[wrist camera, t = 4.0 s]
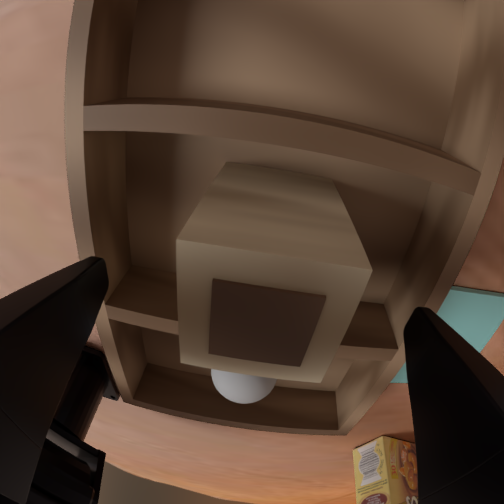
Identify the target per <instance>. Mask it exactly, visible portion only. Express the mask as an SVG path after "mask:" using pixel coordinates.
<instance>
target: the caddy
mask: <svg viewBox="0 0 504 504" xmlns="http://www.w3.org/2000/svg"><path fill="white" fill-rule="evenodd" d="M64 124H65V151H66V166H67V178H68V188H69V197H70V205H71V212H72V219H73V226H74V232H75V238H76V243H77V249H78V254H79V259H80V261H81V260H83V259H85V258H88V257H90V256H96V257H101V258H103V259H104V260H105V262H106V267H107V273H108V278H109V288H108V291H107V293H106V296H105V298H104V301H103V303H102V306H101V308H100V311H99V313H98V316H97V319H96V321H95V323H96V326H97V330H98V333H99V336H100V339H101V342H102V345H103V349H104V352H105V354H106V357H107V360H108V363H109V366H110V369H111V371H112V374H113V377H114V379H115V382H116V385H117V387H118V390H119V392H120V395H121V397H122V399H123V402H125V403H129V404H132V405H135V406H139V407H142V408H146V409H150V410H153V411H157V412H161V413H165V414H169V415H173V416H178V417H182V418H187V419H192V420H196V421H201V422H207V423H212V424H218V425H224V426H230V427H237V428H244V429H251V430H260V431H269V432H279V433H292V434H308V435H347V434H348V433H349V431H350V430H351V429H352V428H353V427H354V426H355V425H356V424H357V423H358V421H359V420H360V419H361V418H362V417H363V416H364V415H365V413H366V412H367V411H368V410H369V409H370V407H371V406H372V405H373V404H374V403H375V401H376V400H377V399H378V398H379V396H380V395H381V394H382V393H383V391H384V390H385V389H386V388H387V386H388V385H389V384H390V382H391V381H392V380H393V378H394V377H395V376H396V374H397V373H398V372H399V370H400V369H401V367H402V366H403V365H404V363H405V362H406V359H405V347H404V337H403V331H404V327H405V325H406V323H407V321H408V320H409V318H410V316H411V314H412V312H413V311H414V309H415V308H416V307H419V306H420V307H428V308H430V309H431V310H432V311H433V312H435V313H436V314H437V312H438V310H439V309H440V307H441V305H442V303H443V302H444V300H445V298H446V296H447V294H448V293H449V291H450V289H451V287H452V285H453V283H454V281H455V279H456V278H457V276H458V274H459V272H460V270H461V268H462V266H463V263H464V261H465V259H466V257H467V255H468V253H469V251H470V248H471V246H472V244H473V242H474V239H475V237H476V235H477V232H478V230H479V228H480V225H481V223H482V220H483V218H484V215H485V213H486V210H487V207H488V205H489V202H490V199H491V196H492V193H493V190H494V187H495V184H496V181H497V178H498V175H499V172H500V168H501V165H502V162H503V158H504V0H75V1H74V6H73V12H72V18H71V25H70V32H69V40H68V49H67V60H66V75H65V101H64ZM226 162H231V163H239V164H246V165H253V166H260V167H266V168H273V169H279V170H285V171H291V172H296V173H302V174H307V175H313V176H318V177H323V178H328V179H332V181H333V183H334V185H335V187H336V189H337V191H338V193H339V195H340V197H341V199H342V201H343V203H344V205H345V207H346V210H347V212H348V214H349V216H350V218H351V221H352V223H353V225H354V227H355V229H356V232H357V234H358V236H359V239H360V241H361V243H362V245H363V248H364V250H365V253H366V255H367V257H368V260H369V262H370V265H371V267H372V270H373V271H372V273H371V276H370V278H369V281H368V283H367V285H366V288H365V290H364V293H363V295H362V297H361V300H360V302H359V304H358V307H357V309H356V311H355V313H354V316H353V318H352V320H351V322H350V324H349V327H348V329H347V331H346V333H345V335H344V337H343V339H342V341H341V343H340V345H339V348H338V350H337V352H336V354H335V356H334V358H333V360H332V362H331V364H330V365H329V367H328V369H327V371H326V373H325V375H324V377H323V379H322V381H321V383H314V382H303V381H292V380H283V379H277V381H276V384H275V386H274V388H273V389H272V391H271V392H270V393H269V394H268V395H267V396H266V397H264V398H263V399H261V400H259V401H257V402H253V403H247V404H242V403H236V402H233V401H230V400H228V399H227V398H225V397H224V396H223V395H221V394H220V393H219V391H218V390H217V389H216V387H215V385H214V383H213V380H212V376H211V369H209V368H204V367H199V366H194V365H189V364H184V363H181V361H180V346H179V329H178V307H177V271H176V239H177V237H178V235H179V234H180V232H181V231H182V229H183V227H184V226H185V224H186V223H187V221H188V219H189V218H190V216H191V215H192V213H193V212H194V210H195V208H196V207H197V205H198V204H199V202H200V201H201V199H202V198H203V196H204V195H205V193H206V191H207V190H208V188H209V187H210V185H211V184H212V182H213V181H214V179H215V178H216V176H217V175H218V173H219V172H220V170H221V169H222V168H223V166H224V165H225V163H226Z"/></svg>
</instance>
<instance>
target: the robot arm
mask: <svg viewBox="0 0 504 504" xmlns="http://www.w3.org/2000/svg"><path fill="white" fill-rule="evenodd" d="M108 288H109V278H108V273H107V267H106V262H105V260H104V259H103V258H101V257H96V256H90V257H88V258H85V259H83V260H81V261H79V262H77V263H74V264H72V265H70V266H68V267H66V268H63V269H61V270H59V271H57V272H55V273H53V274H50V275H48V276H46V277H44V278H42V279H40V280H38V281H36V282H34V283H32V284H30V285H28V286H25V287H23V288H21V289H19V290H17V291H15V292H13V293H11V294H9V295H7V296H5V297H4V298H2V299H0V504H98V499H99V491H100V486H101V479H102V473H103V467H104V461H105V456H106V453H105V452H103V451H101V450H97V449H95V448H94V447H92V446H90V445H88V444H87V443H85V442H84V439H85V437H86V434H87V432H88V429H89V427H90V425H91V422H92V420H93V418H94V415H95V413H96V411H97V408H98V406H99V404H100V402H101V399H102V397H106V398H109V399H112V400H116V401H117V400H118V399H119V397H120V395H119V393H118V390H117V388H116V385H115V383H114V380H113V377H112V375H111V372H110V369H109V367H108V364H107V361H106V358H105V356H104V355H103V354H102V353H101V352H100V351H97V350H94V349H91V348H88V347H85V344H86V342H87V340H88V338H89V336H90V334H91V331H92V329H93V326H94V324H95V321H96V319H97V316H98V313H99V311H100V308H101V306H102V303H103V301H104V298H105V296H106V293H107V291H108ZM403 337H404V347H405V359H406V373H407V382H408V388H409V395H410V402H411V410H412V418H413V426H414V436H415V447H416V461H417V480H418V500H419V501H418V504H504V376H503V375H502V374H501V373H500V372H499V371H498V370H497V369H496V368H495V367H494V366H493V365H492V364H491V363H490V362H489V361H488V360H487V359H486V358H485V357H483V356H482V355H481V354H480V353H479V352H478V351H477V350H476V349H475V348H474V347H473V346H472V345H471V344H469V343H468V342H467V341H466V340H465V339H464V338H463V337H462V336H461V335H460V334H458V333H457V332H456V331H455V330H454V329H453V328H452V327H451V326H449V325H448V324H447V323H446V322H445V321H444V320H443V319H441V318H440V317H439V316H438V315H437V314H436V313H435V312H433V311H432V310H431V309H430V308H428V307H420V306H419V307H416V308H415V309H414V311H413V312H412V314H411V316H410V318H409V320H408V321H407V323H406V325H405V327H404V331H403ZM50 440H51V441H50ZM53 442H54V443H53ZM56 444H57V445H56ZM64 449H65V450H64ZM69 452H70V453H69ZM74 455H75V456H74ZM76 456H77V457H76Z"/></svg>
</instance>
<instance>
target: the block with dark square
mask: <svg viewBox="0 0 504 504" xmlns="http://www.w3.org/2000/svg"><path fill="white" fill-rule="evenodd" d="M176 271H177V307H178V329H179V346H180V361H181V363H184V364H189V365H194V366H199V367H204V368H209V369H215V370H220V371H226V372H232V373H238V374H245V375H252V376H259V377H267V378H275V379H283V380H292V381H303V382H314V383H321V381H322V379H323V377H324V375H325V373H326V371H327V369H328V367H329V365H330V364H331V362H332V360H333V358H334V356H335V354H336V352H337V350H338V348H339V345H340V343H341V341H342V339H343V337H344V335H345V333H346V331H347V329H348V327H349V324H350V322H351V320H352V318H353V316H354V313H355V311H356V309H357V307H358V304H359V302H360V300H361V297H362V295H363V293H364V290H365V288H366V285H367V283H368V281H369V278H370V276H371V273H372V271H373V270H372V267H371V265H370V262H369V260H368V257H367V255H366V253H365V250H364V248H363V245H362V243H361V241H360V239H359V236H358V234H357V232H356V229H355V227H354V225H353V223H352V221H351V218H350V216H349V214H348V212H347V210H346V207H345V205H344V203H343V201H342V199H341V197H340V195H339V193H338V191H337V189H336V187H335V185H334V183H333V181H332V179H328V178H323V177H318V176H313V175H307V174H302V173H296V172H291V171H285V170H279V169H273V168H266V167H260V166H253V165H246V164H239V163H231V162H226V163H225V165H224V166H223V168H222V169H221V170H220V172H219V173H218V175H217V176H216V178H215V179H214V181H213V182H212V184H211V185H210V187H209V188H208V190H207V191H206V193H205V195H204V196H203V198H202V199H201V201H200V202H199V204H198V205H197V207H196V208H195V210H194V212H193V213H192V215H191V216H190V218H189V219H188V221H187V223H186V224H185V226H184V227H183V229H182V231H181V232H180V234H179V235H178V237H177V239H176Z"/></svg>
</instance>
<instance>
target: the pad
mask: <svg viewBox="0 0 504 504" xmlns="http://www.w3.org/2000/svg"><path fill="white" fill-rule="evenodd" d="M437 315H438V316H439V317H440V318H441V319H443V320H444V321H445V322H446V323H447V324H448V325H449V326H451V327H452V328H453V329H454V330H455V331H456V332H457V333H458V334H460V335H461V336H462V337H463V338H464V339H465V340H466V341H467V342H468V343H469V344H471V345H472V346H473V347H474V348H475V349H476V350H477V351H478V352H479V353H480V352H481V350H482V349H483V348H484V346H485V345H486V344H487V342H488V341H489V340H490V338H491V337H492V335H493V334H494V333H495V331H496V330H497V328H498V327H499V325H500V324H501V322H502V321H503V319H504V294H503V293H497V292H490V291H483V290H477V289H470V288H464V287H457V286H452V287H451V289H450V291H449V293H448V294H447V296H446V298H445V300H444V302H443V303H442V305H441V307H440V309H439V310H438V312H437ZM390 383H408V382H407V373H406V362H405V363H404V365H403V366H402V367H401V369H400V370H399V372H398V373H397V374H396V376H395V377H394V378H393V380H392V381H391V382H390Z"/></svg>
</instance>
